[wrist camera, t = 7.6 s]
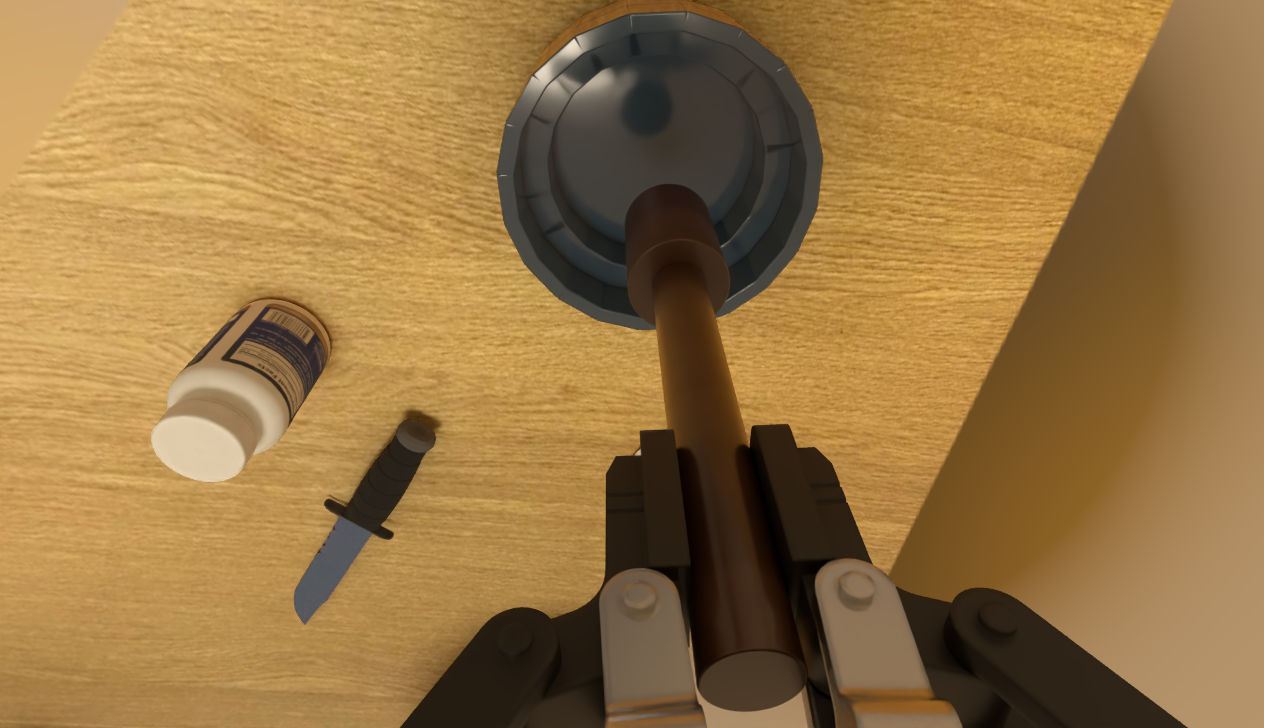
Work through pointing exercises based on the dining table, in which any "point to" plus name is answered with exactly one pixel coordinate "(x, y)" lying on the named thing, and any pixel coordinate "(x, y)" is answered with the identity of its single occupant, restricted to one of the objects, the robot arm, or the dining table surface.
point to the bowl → (656, 149)
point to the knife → (363, 515)
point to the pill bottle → (241, 390)
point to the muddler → (712, 460)
